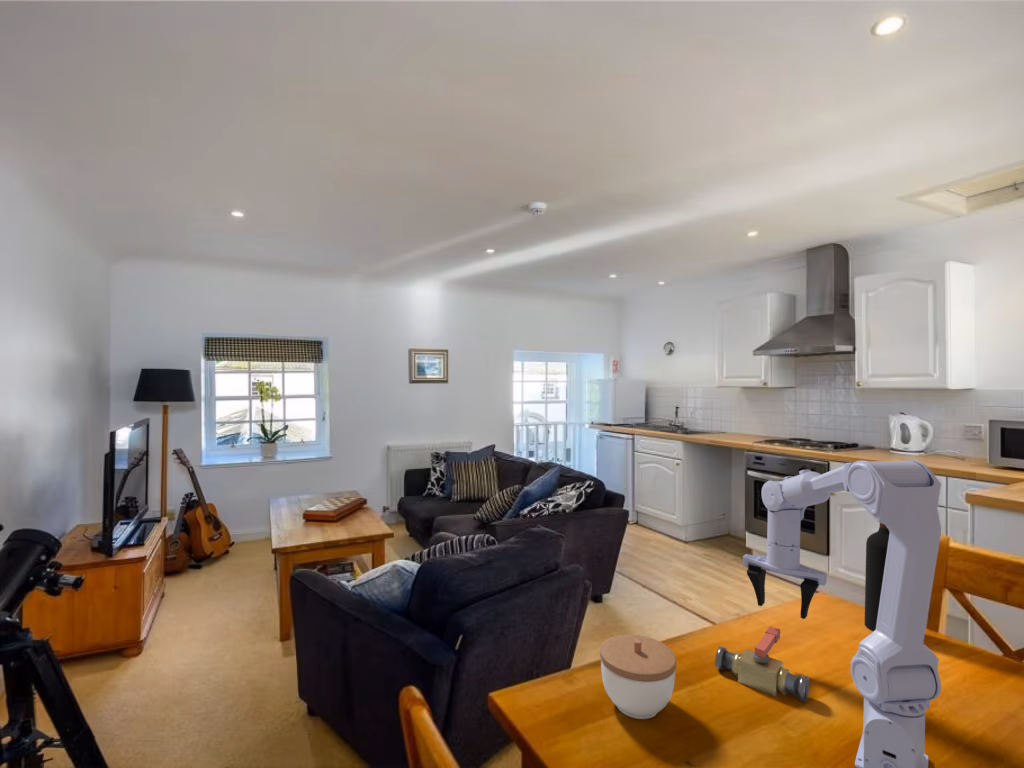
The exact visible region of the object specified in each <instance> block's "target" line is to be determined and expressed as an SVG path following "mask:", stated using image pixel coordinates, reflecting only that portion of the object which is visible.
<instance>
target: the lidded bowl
mask: <svg viewBox="0 0 1024 768" xmlns="http://www.w3.org/2000/svg"><path fill="white" fill-rule="evenodd" d="M599 648H600V649H599V652H600V653H599V657H600V671H601V679H602V683H603V686H604V689H605V693H606V694H607V696H608V698H610V700H611V701H612V702H613V704H614V705H615V706H616V708H617V709H618V711H620V712H621V713H622V714H623V715H625V716H627V717H629V718H632V719H635V720H648V719H651V718H654V717H656V716H657V714H658V713H659V712H660V711H662V710H663V709H664V708H666V706H667V705H668V703H669V702H670V700H671V698H672V695H673V691H674V689H675V682H676V681H675V680H676V669H677V658H676V657H677V656H676V655H675V653H674V652H673V650H672V649H671V648H670V647H669V646H668V645H666V643H665V644H664V643H663V642H661V641H660V640H658V639H656V638H652V637H651V636H645V635H640V634H633V633H632V634H631V633H630V634H629V633H628V634H627V633H626V634H625V633H624V634H618V635H614V636H611V637H609V638H607V639H605V640H604V641H603V642H602V643H601V645H600V647H599Z"/></svg>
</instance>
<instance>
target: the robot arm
mask: <svg viewBox="0 0 1024 768" xmlns="http://www.w3.org/2000/svg"><path fill="white" fill-rule="evenodd" d="M798 473H799V474H797V475H794V476H792V475H788V476H785V477H784V479H783V480H781V481H780V480H779V481H778V480H776V481H775V480H767V481H766V482H764V484H763V485H762V487H761V499H762V504H763V505H764V506H765V508H766V509H767V527H766V528H767V531H766V533H767V536H766V539H767V540H766V556H761V555H753V554H747V553H745V554H743V556H742V566H744V567H747V570H746V575H747V577H748V578H749V580H750V583H751V584H752V587H753V590H754V593H755V596H756V600H757V601H756V602H757V605H758V606H759V607H762V606H763V605H764V604H765V603H766V602H765V601H766V590H765V589H766V587H765V585H766V575H767V572H773V573H777V574H781V575H785V576H789V577H792V578H796V579H800V580H803V581H801V583H800V584H799V585H800V586H799V587H800V595H801V601H800V602H801V604H800V619H802V620H803V619H804V620H805V619H807V617H808V612H809V608H810V604H811V603H812V599H813V598H814V596H815V594H816V592H817V590H818V588H819V586H823V587H824V586H825V585H826V584H827V577H828V576H827V574H828V573H827V572H825V571H822V570H819V569H818V570H817V569H814V568H812V567H809V566H806V565H803V564H801V523H802V522H801V521H803V520H804V518H805V515H804V514H805V511H806V509H807V507H811V506H814V505H820V504H823V503H825V502H827V501H828V500H829V499H830V496H831V494H833V493H838V492H843V491H845V492H847V493H850V495H851V496H852V498H854V500H856V501H857V502H858V503H859V505H861V507H862V508H864V510H865V511H866V512H868V514H869V515H871V517H873V518H874V519H875V520H876V522H878V523H879V524H880V523H882V524H884V525H886V527H887V528H888V529H889V532H890V534H889V541H888V548H887V555H886V562H885V568H884V575H883V582H882V589H881V596H880V603H879V610H878V617H877V624H876V630H875V631H874V632H873V631H872V632H871V633H870V634H869V635H866V637H865V638H863V639H862V640H861V641H859V643H858V649H857V652H856V654H854V656H853V657H852V658H851V661H850V675H851V678H852V681H853V683H854V685H855V687H856V688H857V690H858V692H859V693H860V695H862V697H863V719H862V721H863V724H862V735H861V737H860V741H859V745H858V750H857V753H856V756H855V761H854V766H855V767H856V768H929V758H930V757H929V756H928V755H927V754H926V753H925V744H926V742H925V741H926V739H925V738H926V733H925V732H926V710H927V709H930V708H931V701H933V700H935V699H937V698H938V697H939V696H940V694H941V690H942V684H941V678H940V675H939V669H938V667H939V661H940V660H939V658H938V657H937V655H936V654H935V653H934V652H933V651H932V650H931V649H930V648H929V647H928V646H927V645H926V644H925V642H924V640H925V634H926V627H927V622H928V616H929V611H930V610H929V609H930V603H931V598H932V591H933V585H934V578H935V572H936V567H937V560H938V553H939V547H940V542H941V535H942V527H941V526H942V525H941V520H940V515H939V510H938V506H939V499H940V494H941V493H940V492H941V487H942V483H941V482H940V480H939V479H938V478H937V477H936V475H935V474H934V473H933V471H932V470H931V469H930V468H929V466H928V465H926V464H924V462H921V461H919V460H915V459H908V460H901V461H899V460H893V461H892V460H891V461H886V460H884V461H881V460H879V461H867V460H857V461H854V462H846V463H845V464H844V465H842V466H840V467H837V468H834V469H832V470H830V471H827V472H825V473H822V474H821V473H819V472H817V471H812V470H811V469H802V470H799V471H798Z"/></svg>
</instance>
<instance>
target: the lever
mask: <svg viewBox="0 0 1024 768" xmlns="http://www.w3.org/2000/svg"><path fill="white" fill-rule="evenodd" d="M780 639H781V629H780V628H777V627H774V626H768V627H767V629H766V630H765V633H764V635H763V636H762V638H761V639H760V640H759V641H758V643H757V644H756V646H755V647H754V651H753V659H754V660H756V661H757V662H760V663H768V662H769V657H770V656H769V652H770V651H771V650H772V648H773V647H774V645H775V644H777V643H778V641H779V640H780Z"/></svg>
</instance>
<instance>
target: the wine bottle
mask: <svg viewBox="0 0 1024 768" xmlns="http://www.w3.org/2000/svg"><path fill="white" fill-rule="evenodd" d="M889 534H890V532H889V529H888V528H887V527H886V525H884V524H882V523H880V522H879V527H878V530H877V531H875V532H874V533H872V534H870V535H869V536H868V537H867V538H866V542H865V577H864V578H865V582H864V583H865V586H864V588H865V590H864V591H865V592H864V595H865V596H864V626H865V628H866V629H868V630H870V631H872V633H873V632H874V631H875V630H876V624H877V617H878V610H879V603H880V596H881V589H882V582H883V575H884V568H885V562H886V555H887V548H888V541H889Z"/></svg>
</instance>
